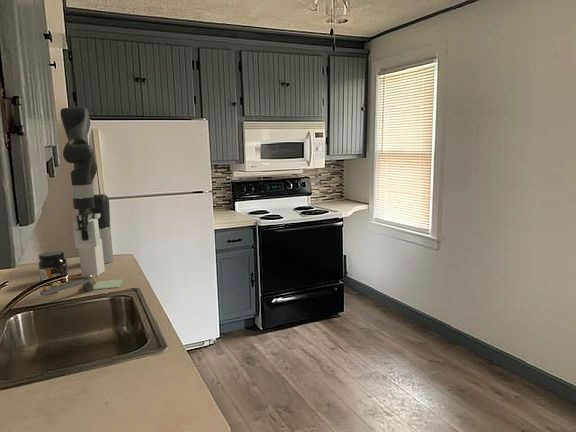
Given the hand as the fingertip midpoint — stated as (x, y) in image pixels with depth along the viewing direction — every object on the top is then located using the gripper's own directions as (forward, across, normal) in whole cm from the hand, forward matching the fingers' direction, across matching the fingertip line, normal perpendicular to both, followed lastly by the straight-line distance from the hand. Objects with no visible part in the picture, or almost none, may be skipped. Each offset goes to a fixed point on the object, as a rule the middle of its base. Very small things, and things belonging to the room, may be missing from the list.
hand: (87, 238), depth 170 cm
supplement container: (+20, -12, -18) cm, 29 cm away
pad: (+20, 0, +6) cm, 20 cm away
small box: (+3, 0, 0) cm, 3 cm away
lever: (+16, +12, -5) cm, 21 cm away
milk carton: (+20, -19, -4) cm, 28 cm away
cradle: (+20, -1, -7) cm, 21 cm away
